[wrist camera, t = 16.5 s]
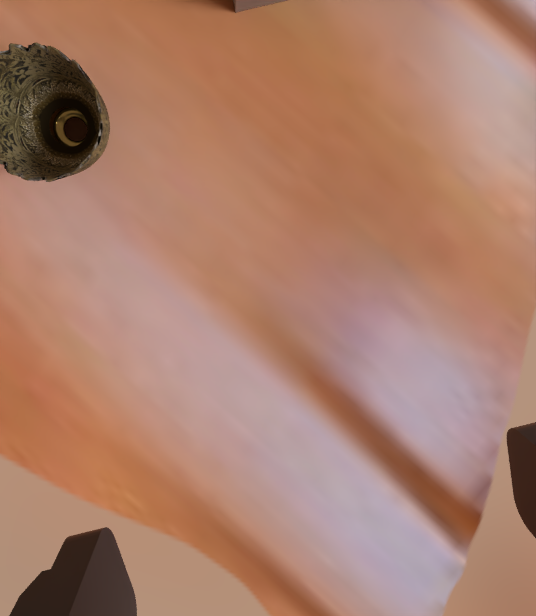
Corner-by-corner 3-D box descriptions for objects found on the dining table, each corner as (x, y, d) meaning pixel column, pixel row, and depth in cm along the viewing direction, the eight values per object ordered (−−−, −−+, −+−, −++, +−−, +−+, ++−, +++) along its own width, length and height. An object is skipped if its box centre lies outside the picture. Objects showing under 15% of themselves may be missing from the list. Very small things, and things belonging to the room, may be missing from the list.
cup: (35, 57, 35) (-22, 19, 27) (140, 94, 36) (114, 68, 28) (12, 163, 36) (-48, 156, 28) (113, 196, 37) (82, 198, 29)
